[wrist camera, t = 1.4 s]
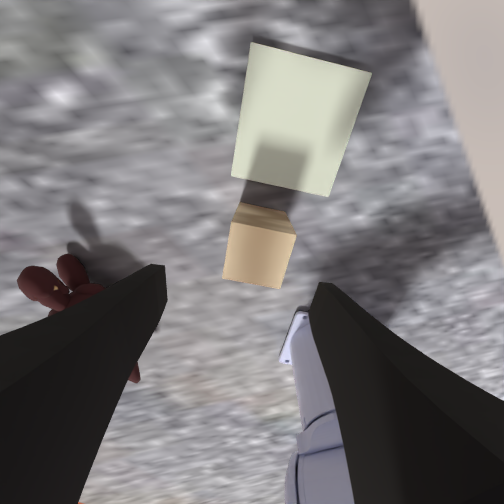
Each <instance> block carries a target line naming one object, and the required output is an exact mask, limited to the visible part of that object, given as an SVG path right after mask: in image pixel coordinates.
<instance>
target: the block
mask: <svg viewBox="0 0 504 504" xmlns="http://www.w3.org/2000/svg"><path fill="white" fill-rule="evenodd" d="M296 236H297V235H296V233H295V231H294V229H293V227H292V225H291V223H290V221H289V219H288V217H287V215H286V213H285V212H284V211H280V210H275V209H270V208H265V207H261V206H256V205H251V204H246V203H242V202H240V203H239V205H238V208H237V210H236V212H235V215H234V217H233V219H232V222H231V227H230V233H229V239H228V246H227V252H226V258H225V264H224V270H223V276H222V278H223V279H229V280H234V281H239V282H245V283H250V284H255V285H261V286H266V287H271V288H277V289H280V287H281V284H282V281H283V277H284V274H285V271H286V268H287V265H288V262H289V258H290V255H291V252H292V249H293V246H294V243H295V239H296Z"/></svg>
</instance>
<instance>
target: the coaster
mask: <svg viewBox="0 0 504 504" xmlns="http://www.w3.org/2000/svg"><path fill="white" fill-rule="evenodd" d="M371 75H372V73H370V72H366V71H362V70H358V69H354V68H350V67H346V66H343V65H339V64H335V63H331V62H327V61H323V60H319V59H315V58H311V57H307V56H304V55H300V54H296V53H292V52H288V51H284V50H280V49H276V48H272V47H268V46H265V45H261V44H257V43H253V42H251V45H250V52H249V59H248V65H247V72H246V79H245V85H244V92H243V99H242V106H241V112H240V119H239V126H238V132H237V139H236V146H235V153H234V159H233V166H232V173H231V176H234V177H238V178H243V179H248V180H252V181H257V182H261V183H266V184H271V185H275V186H280V187H284V188H289V189H294V190H298V191H303V192H307V193H312V194H317V195H321V196H326V197H329V194H330V191H331V188H332V185H333V183H334V180H335V177H336V174H337V171H338V168H339V166H340V163H341V160H342V157H343V154H344V151H345V149H346V146H347V143H348V140H349V137H350V135H351V132H352V129H353V126H354V123H355V120H356V118H357V115H358V112H359V109H360V106H361V103H362V101H363V98H364V95H365V92H366V89H367V87H368V84H369V81H370V78H371Z"/></svg>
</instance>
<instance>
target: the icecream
mask: <svg viewBox="0 0 504 504" xmlns="http://www.w3.org/2000/svg"><path fill="white" fill-rule="evenodd" d="M56 265H57V269H58V273H59V277H60V278H61V279H62V280H63V282H64V283H65V284H66V285H67V286H65V285H64V284H63V282H61V281H60V280H59V279H58V278H57V277H56V276H55V275H54V274H53V273H52V272H50V271H49V270H48V269H46V268H44V267H38V266H29V267H26V268H25V269H24V270H23V271H22V272H21V274H20V276H19V277H18V279H17V283H18V286H19V289H20V290H21V291H22V292H23V293H24V294H25V295H26V296H27V297H28V298H29V299H31V300H33V301H39V302H40V303H41V304H42V305H44V306H46V307H49V308H51V309H52V310H51V311H50V312H49V315H48V316H51V315H53V314H55V313H58V312H60V311H62V310H64V309H66V308H69V307H71V306H73V305H75V304H77V303H79V302H81V301H83V300H85V299H87V298H89V297H91V296H93V295H95V294H97V293H99V292H101V291H103V290H105V289H106V288H105V287H103V286H102V285H100V284H95V283H90V281H89V278H88V275H87V273H86V271H85V268H84V266H83V265H82V264H81V263H80V262H79V260H78V259H77V258H76V257H74V256H73V255H71V254H65V255H62V256H60V257H59V258H58V260H57V264H56ZM69 289H70V290H72V291H73V292H71V293H70V294H69V292H70V291H69ZM128 380H129V381H132V382H134V383H138V382H139V381H140V372H139V367H138V362H137V363H136V365H135V367H134V369H133V371H132V373H131V375H130V377H129V379H128Z"/></svg>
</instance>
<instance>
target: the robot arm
mask: <svg viewBox="0 0 504 504" xmlns="http://www.w3.org/2000/svg"><path fill="white" fill-rule="evenodd" d="M167 301H168V299H167V287H166V274H165V265H156V264H150V265H148V266H146V267H144V268H142V269H140V270H139V271H137V272H135V273H133V274H132V275H130V276H128V277H126V278H124V279H123V280H121V281H119V282H117V283H115V284H114V285H112V286H110V287H108V288H106V289H105V290H103V291H101V292H99V293H97V294H95V295H93V296H91V297H89V298H87V299H85V300H83V301H81V302H79V303H77V304H75V305H73V306H71V307H69V308H66V309H64V310H62V311H60V312H58V313H55V314H53V315H51V316H48V317H46V318H44V319H41V320H39V321H37V322H34V323H32V324H29V325H27V326H24V327H21V328H19V329H16V330H14V331H11V332H8V333H6V334H3V335H0V504H78V502H79V499H80V496H81V493H82V491H83V488H84V485H85V483H86V480H87V477H88V475H89V472H90V470H91V467H92V465H93V462H94V460H95V457H96V454H97V452H98V449H99V447H100V444H101V442H102V439H103V437H104V434H105V432H106V430H107V427H108V425H109V422H110V420H111V418H112V415H113V413H114V410H115V408H116V406H117V403H118V401H119V399H120V396H121V394H122V392H123V390H124V387H125V385H126V383H127V381H128V379H129V377H130V375H131V373H132V371H133V369H134V367H135V365H136V363H137V361H138V359H139V358H140V356H141V354H142V352H143V350H144V349H145V347H146V345H147V343H148V341H149V339H150V338H151V336H152V334H153V332H154V330H155V328H156V327H157V325H158V323H159V321H160V319H161V316H162V314H163V311H164V309H165V306H166V303H167ZM303 316H306V317H303ZM279 362H281V363H284V364H290V365H292V368H293V374H294V380H295V386H296V392H297V398H298V404H299V410H300V417H301V423H302V429H303V432H301V433H298V434H296V438H297V445H298V451H296V452H294V453H292V455H291V457H290V460H289V463H288V468H287V471H286V477H285V504H504V401H503V400H501V399H499V398H497V397H495V396H493V395H491V394H490V393H488V392H486V391H484V390H483V389H481V388H479V387H477V386H476V385H474V384H472V383H470V382H469V381H467V380H465V379H463V378H462V377H460V376H458V375H457V374H455V373H454V372H452V371H450V370H449V369H447V368H445V367H444V366H442V365H440V364H439V363H437V362H436V361H434V360H432V359H431V358H429V357H428V356H426V355H425V354H423V353H422V352H420V351H419V350H417V349H416V348H414V347H413V346H411V345H410V344H408V343H407V342H406V341H404V340H403V339H401V338H400V337H399V336H397V335H396V334H395V333H393V332H392V331H391V330H389V329H388V328H387V327H385V326H384V325H383V324H381V323H380V322H379V321H378V320H376V319H375V318H374V317H373V316H371V315H370V314H369V313H368V312H366V311H365V310H364V309H363V308H362V307H360V306H359V305H358V304H357V303H356V302H354V301H353V300H352V299H351V298H350V297H348V296H347V295H346V294H345V293H344V292H342V291H341V290H340V289H339V288H338V287H336V286H335V285H333V284H332V283H324V282H319V285H318V287H317V290H316V293H315V296H314V299H313V301H312V304H311V307H310V310H309V313H308V312H303V311H298V312H296V314H295V316H294V319H293V321H292V324H291V327H290V329H289V332H288V335H287V337H286V340H285V343H284V345H283V348H282V351H281V353H280V356H279Z"/></svg>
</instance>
